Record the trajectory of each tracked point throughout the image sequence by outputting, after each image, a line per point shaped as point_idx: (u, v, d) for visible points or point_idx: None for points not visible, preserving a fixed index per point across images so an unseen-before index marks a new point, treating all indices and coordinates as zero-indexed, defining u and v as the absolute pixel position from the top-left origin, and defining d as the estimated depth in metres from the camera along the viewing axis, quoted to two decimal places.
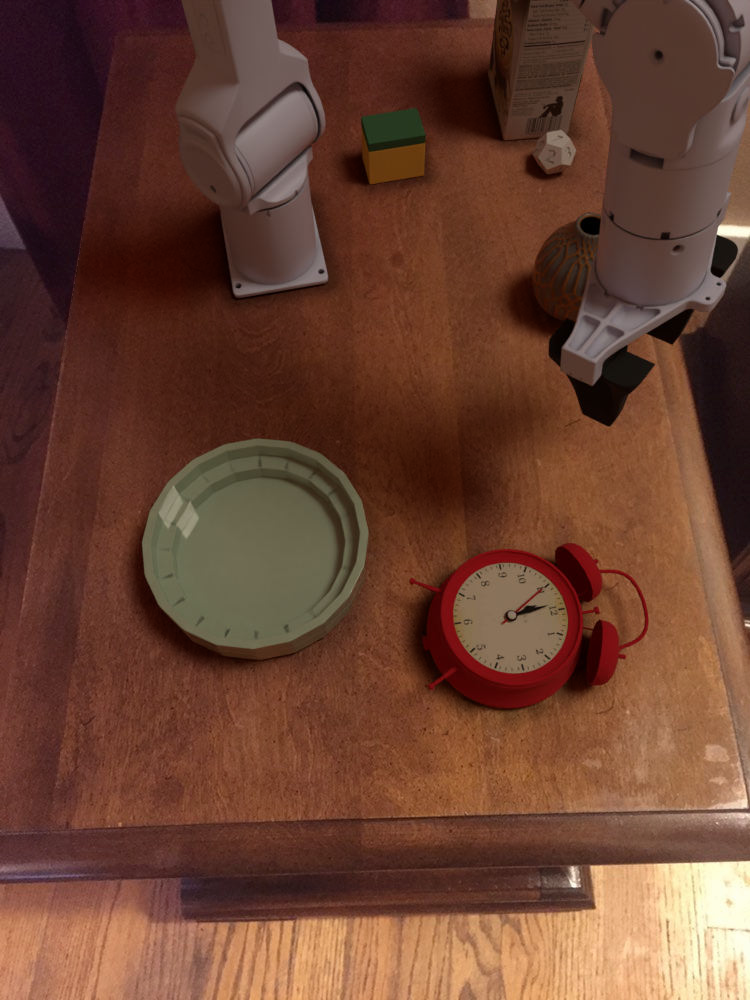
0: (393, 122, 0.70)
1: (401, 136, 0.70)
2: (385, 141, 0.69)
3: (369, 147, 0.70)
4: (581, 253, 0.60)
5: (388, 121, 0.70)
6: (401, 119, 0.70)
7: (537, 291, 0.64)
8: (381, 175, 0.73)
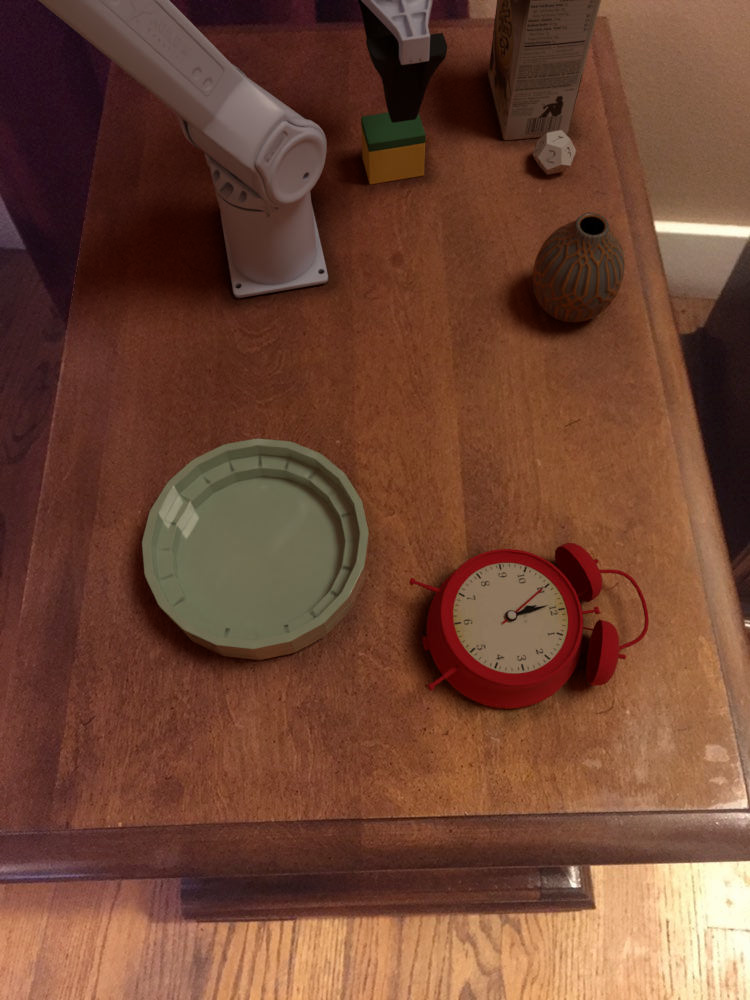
0: None
1: (401, 136, 0.70)
2: (385, 141, 0.69)
3: (369, 147, 0.70)
4: (581, 253, 0.60)
5: (388, 121, 0.70)
6: None
7: (537, 291, 0.64)
8: (381, 175, 0.73)
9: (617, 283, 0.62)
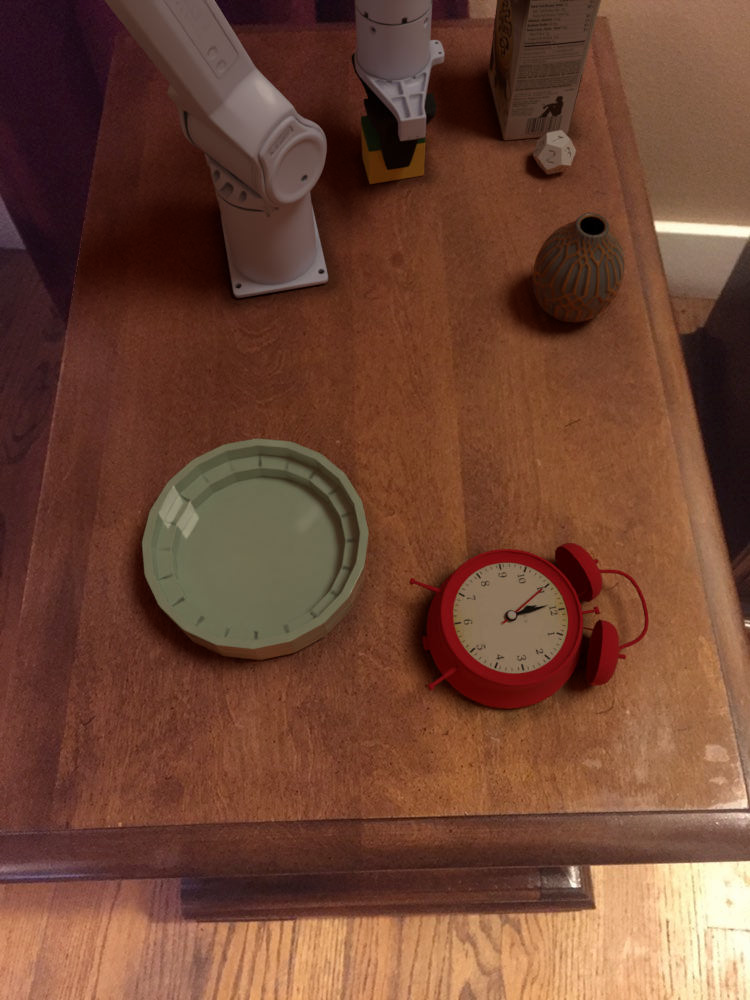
0: None
1: None
2: None
3: (369, 147, 0.70)
4: (581, 253, 0.60)
5: None
6: None
7: (537, 291, 0.64)
8: (381, 175, 0.73)
9: (617, 283, 0.62)
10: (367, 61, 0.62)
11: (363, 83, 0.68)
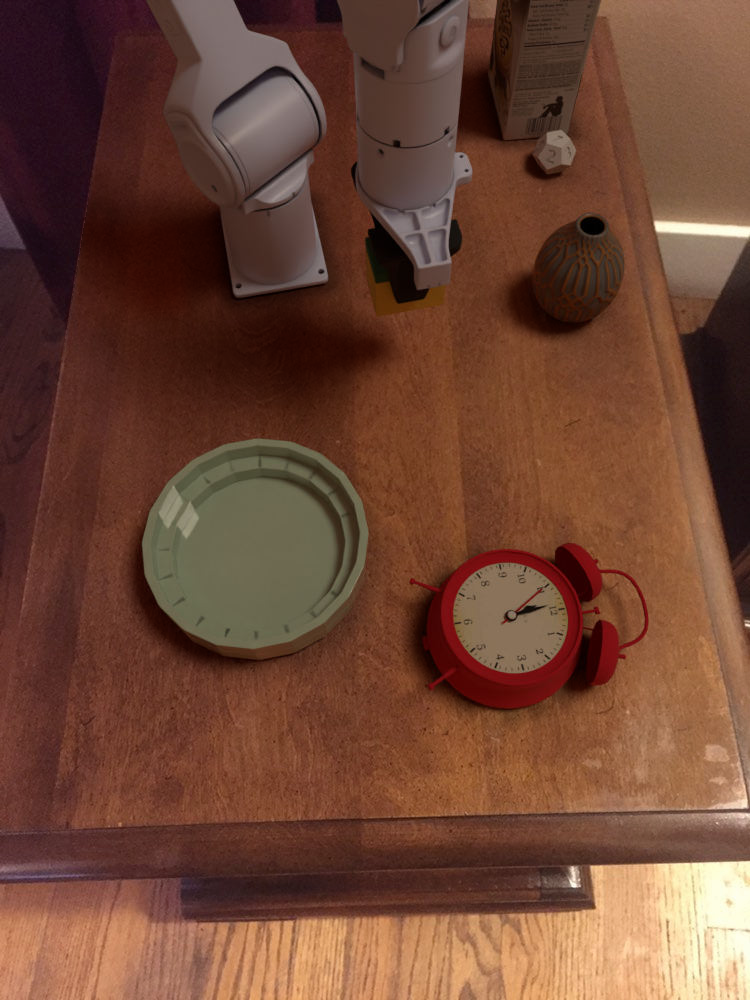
0: None
1: None
2: None
3: (376, 279, 0.55)
4: (581, 253, 0.60)
5: None
6: None
7: (537, 291, 0.64)
8: (391, 307, 0.58)
9: (617, 283, 0.62)
10: (372, 186, 0.48)
11: None
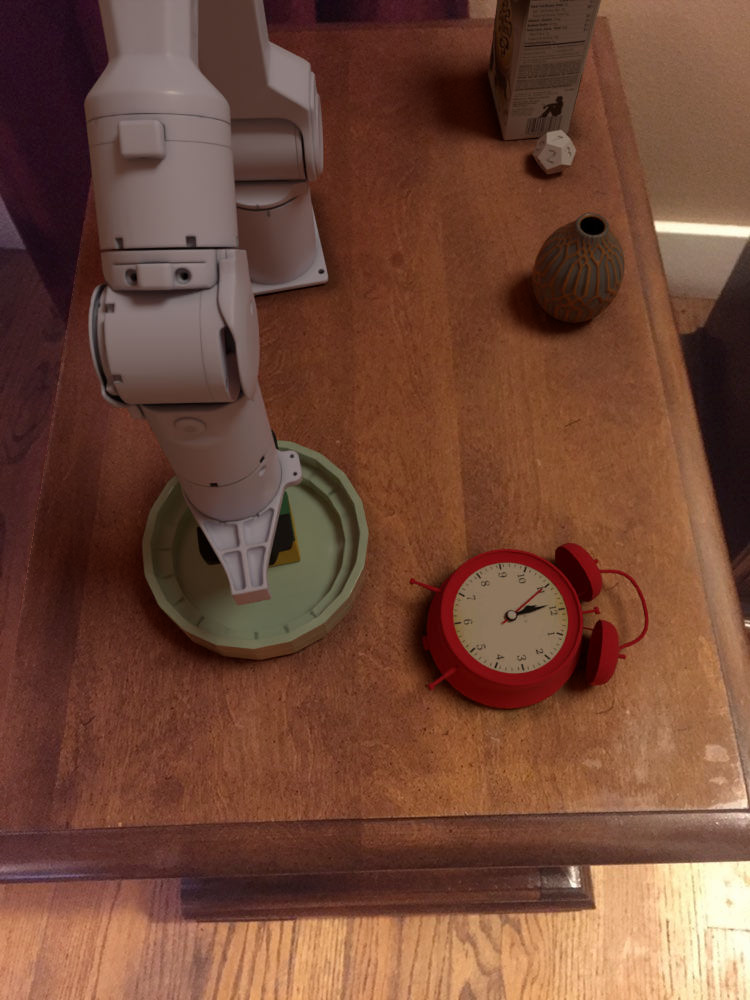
0: None
1: None
2: None
3: None
4: (581, 253, 0.60)
5: None
6: None
7: (537, 291, 0.64)
8: None
9: (617, 283, 0.62)
10: (191, 500, 0.46)
11: None
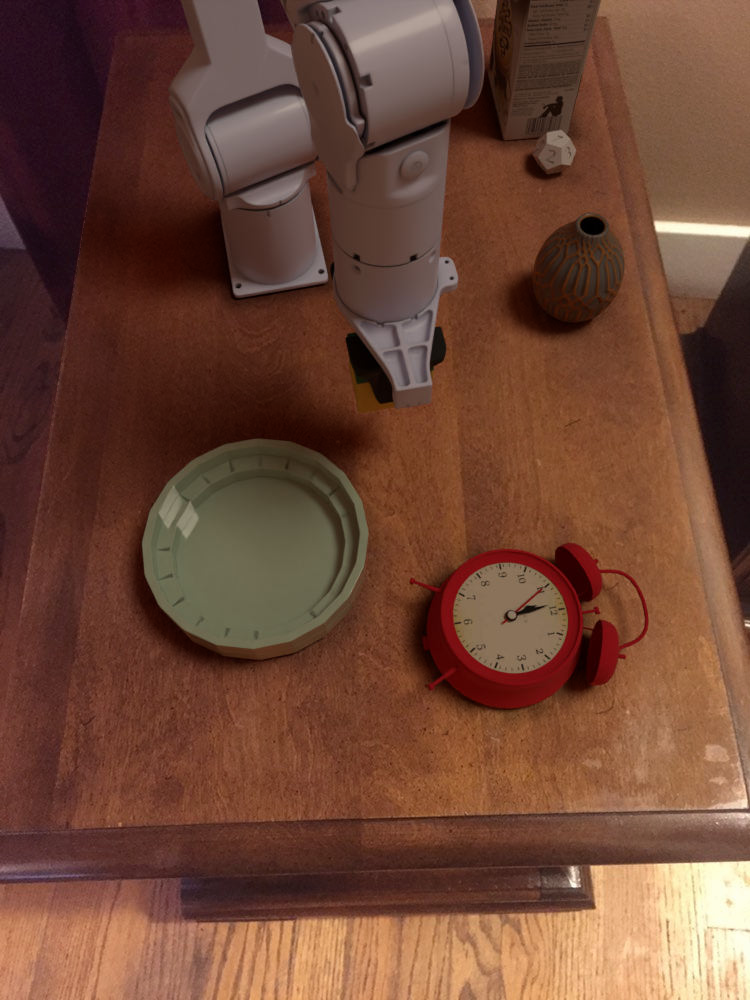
0: None
1: None
2: None
3: (357, 380, 0.51)
4: (581, 253, 0.60)
5: None
6: None
7: (537, 291, 0.64)
8: (374, 404, 0.54)
9: (617, 283, 0.62)
10: (349, 298, 0.44)
11: None
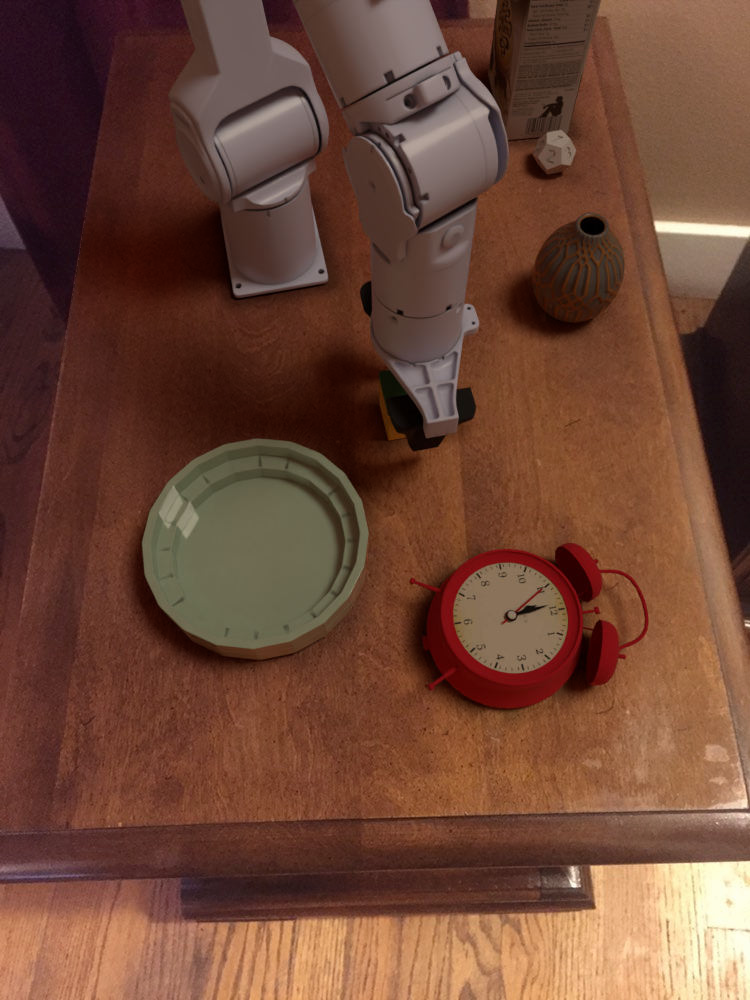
0: None
1: None
2: None
3: None
4: (581, 253, 0.60)
5: None
6: None
7: (537, 291, 0.64)
8: None
9: (617, 283, 0.62)
10: (386, 342, 0.51)
11: None
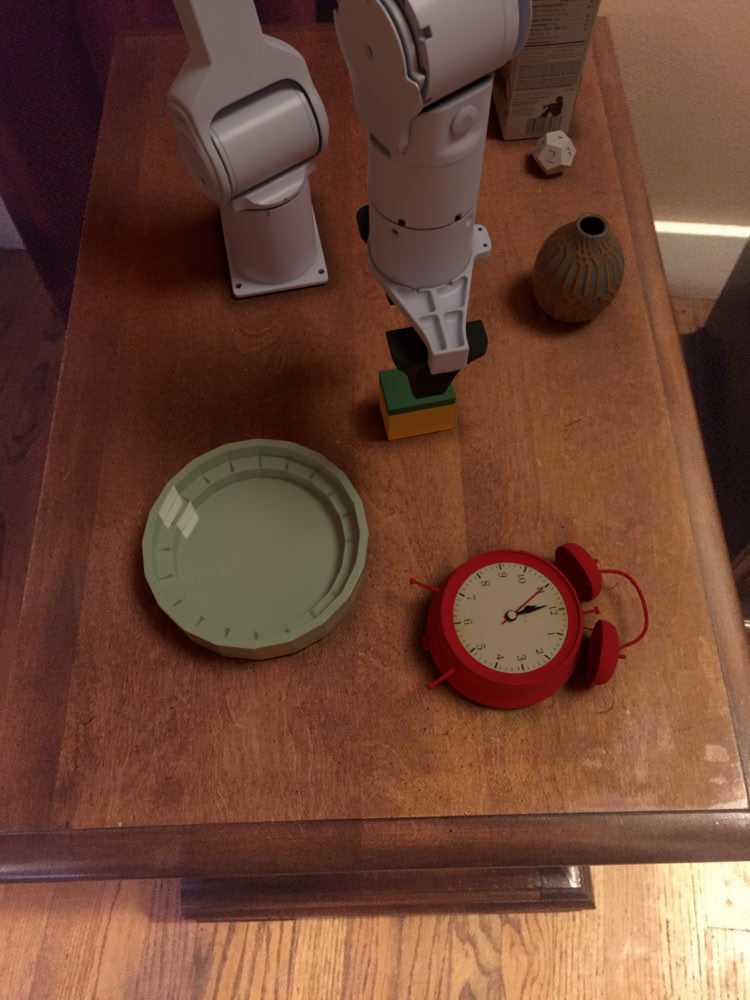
0: None
1: (426, 400, 0.58)
2: (408, 406, 0.58)
3: (389, 412, 0.59)
4: (581, 253, 0.60)
5: None
6: None
7: (537, 291, 0.64)
8: (402, 432, 0.62)
9: (617, 283, 0.62)
10: (385, 264, 0.45)
11: None
